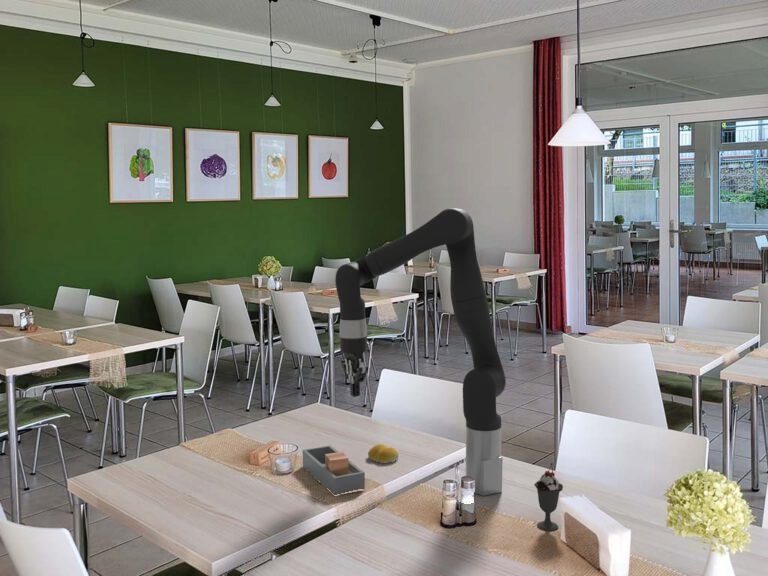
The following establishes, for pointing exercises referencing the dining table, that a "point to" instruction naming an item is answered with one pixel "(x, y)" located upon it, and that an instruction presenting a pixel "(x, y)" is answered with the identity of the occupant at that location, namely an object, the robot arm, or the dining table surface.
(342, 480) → the trap box
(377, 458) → the bread roll
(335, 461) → the block
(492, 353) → the robot arm
